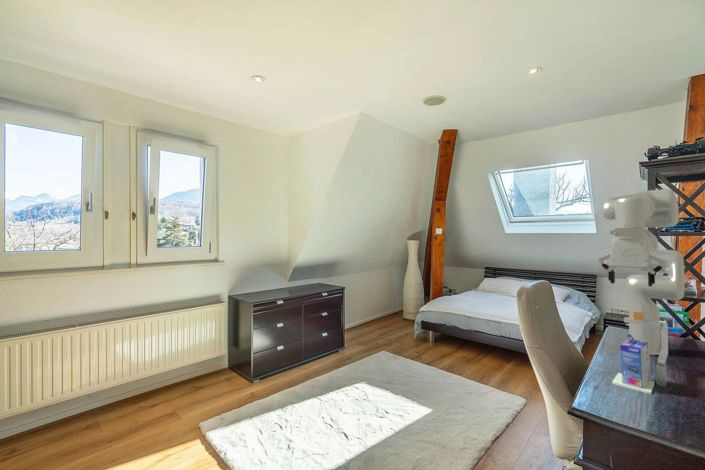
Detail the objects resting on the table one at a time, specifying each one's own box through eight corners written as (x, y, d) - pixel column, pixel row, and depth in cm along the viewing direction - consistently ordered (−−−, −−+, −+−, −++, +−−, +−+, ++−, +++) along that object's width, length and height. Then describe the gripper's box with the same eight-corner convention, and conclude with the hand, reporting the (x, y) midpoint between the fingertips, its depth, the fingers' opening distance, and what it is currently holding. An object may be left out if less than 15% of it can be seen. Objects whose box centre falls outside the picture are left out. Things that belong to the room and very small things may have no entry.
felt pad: (618, 374, 109) (618, 372, 109) (654, 383, 102) (654, 381, 102) (612, 384, 101) (612, 382, 101) (650, 394, 95) (650, 392, 95)
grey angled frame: (625, 345, 120) (625, 310, 120) (668, 353, 111) (667, 315, 111) (618, 355, 109) (617, 316, 110) (664, 364, 101) (663, 322, 101)
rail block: (657, 381, 104) (657, 362, 104) (666, 383, 102) (666, 364, 102) (656, 384, 101) (656, 365, 101) (665, 386, 99) (665, 367, 100)
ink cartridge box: (628, 374, 107) (627, 331, 107) (650, 380, 103) (649, 334, 103) (620, 382, 101) (619, 336, 101) (643, 389, 97) (642, 340, 97)
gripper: (595, 234, 112) (596, 283, 112) (664, 233, 99) (666, 288, 99) (600, 234, 117) (601, 280, 117) (666, 233, 104) (667, 285, 104)
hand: (630, 284), depth 108 cm, fingers open, 9 cm apart
